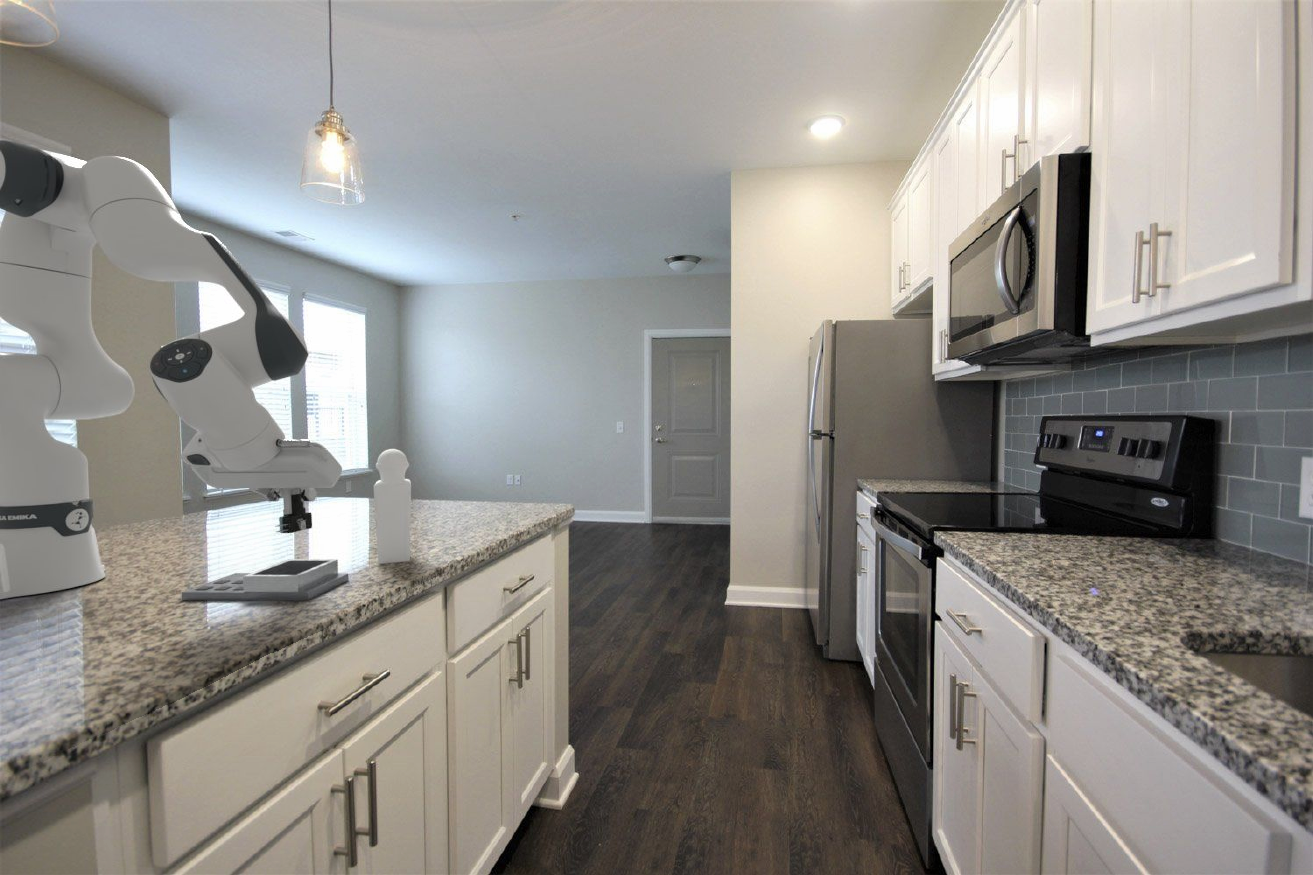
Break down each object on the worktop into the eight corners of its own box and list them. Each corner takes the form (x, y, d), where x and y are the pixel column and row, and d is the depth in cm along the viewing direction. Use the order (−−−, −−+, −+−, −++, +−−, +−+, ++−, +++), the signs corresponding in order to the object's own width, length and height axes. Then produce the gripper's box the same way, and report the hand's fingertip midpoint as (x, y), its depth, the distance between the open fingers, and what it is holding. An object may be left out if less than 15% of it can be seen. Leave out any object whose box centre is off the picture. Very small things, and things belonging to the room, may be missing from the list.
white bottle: (412, 561, 113) (410, 449, 112) (375, 565, 110) (372, 450, 109) (412, 554, 119) (410, 447, 118) (377, 557, 116) (374, 448, 115)
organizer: (181, 599, 90) (181, 576, 89) (235, 579, 101) (234, 558, 100) (308, 600, 89) (307, 576, 89) (348, 580, 100) (347, 559, 100)
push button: (292, 535, 91) (289, 471, 90) (261, 535, 91) (258, 472, 91) (321, 527, 97) (318, 468, 97) (292, 527, 98) (289, 469, 98)
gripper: (326, 424, 86) (362, 482, 97) (192, 426, 87) (243, 483, 97) (308, 456, 82) (348, 513, 92) (168, 457, 83) (223, 514, 93)
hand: (293, 498), depth 95 cm, fingers closed on push button, 5 cm apart
